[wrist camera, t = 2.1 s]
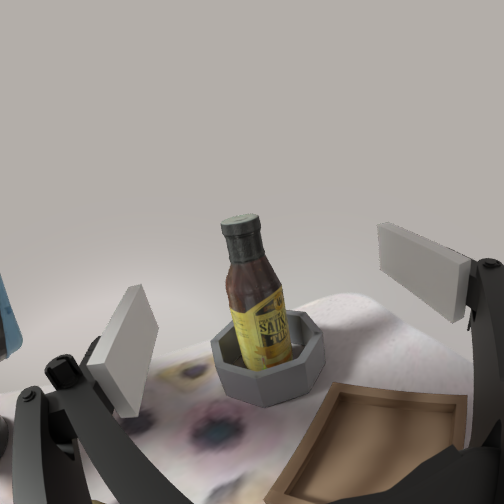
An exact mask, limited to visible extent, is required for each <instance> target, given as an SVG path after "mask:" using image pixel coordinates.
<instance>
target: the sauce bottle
mask: <svg viewBox="0 0 504 504" xmlns="http://www.w3.org/2000/svg"><path fill="white" fill-rule="evenodd" d="M221 229H222V234H223V235H224V237H225V238H226V242H227V248H228V251H229V259H230V262H231V266H230V269H229V272H228V275H227V277H226V292H227V295H228V299H229V307H230V310H231V315H232V319H233V323H234V327H235V330H236V334H237V338H238V342H239V346H240V350H241V354H242V357H243V361H244V365H245V366H246V368H247V369H249V370H253V371H256V372H258V371H261V370H265V369H268V368H271V367H274V366H277V365H280V364H283V363H286V362H289V361H292V358H293V353H292V347H291V340H290V334H289V327H288V320H287V315H286V309H285V303H284V296H283V289H282V284H281V283H280V281H279V279H278V277H277V276H276V274H275V272H274V270H273V268H272V266H271V265H270V263H269V261H268V259H267V257H266V255H265V251H264V248H263V244H262V239H261V234H260V229H261V224H260V220H259V216H258V215H256V214H245V215H240V216H235V217H232V218H228V219H226V220H224V221H222V222H221Z"/></svg>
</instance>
